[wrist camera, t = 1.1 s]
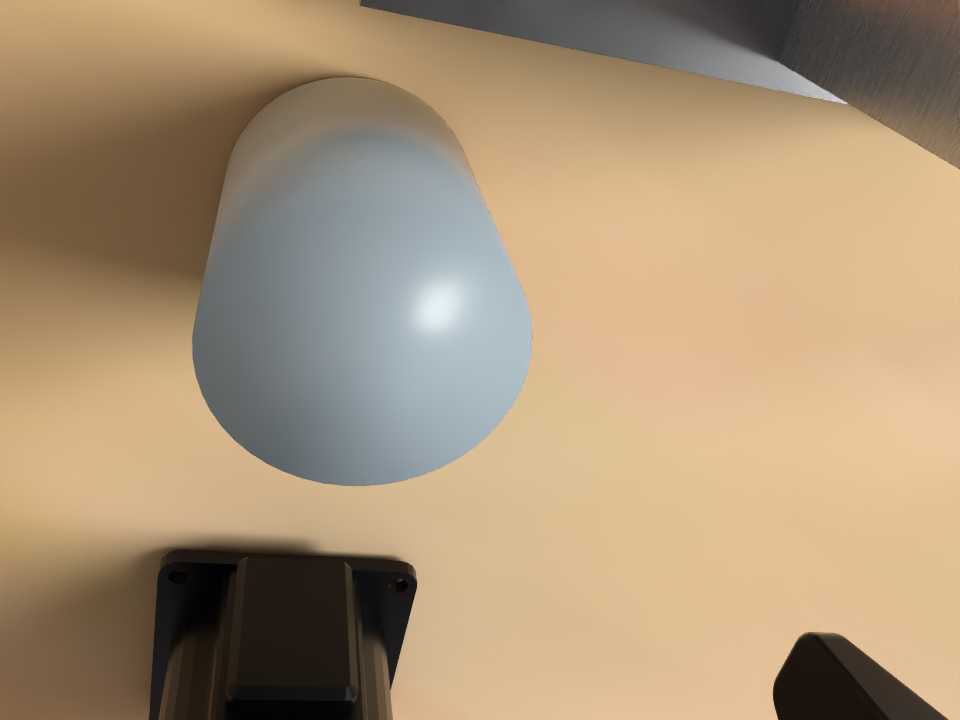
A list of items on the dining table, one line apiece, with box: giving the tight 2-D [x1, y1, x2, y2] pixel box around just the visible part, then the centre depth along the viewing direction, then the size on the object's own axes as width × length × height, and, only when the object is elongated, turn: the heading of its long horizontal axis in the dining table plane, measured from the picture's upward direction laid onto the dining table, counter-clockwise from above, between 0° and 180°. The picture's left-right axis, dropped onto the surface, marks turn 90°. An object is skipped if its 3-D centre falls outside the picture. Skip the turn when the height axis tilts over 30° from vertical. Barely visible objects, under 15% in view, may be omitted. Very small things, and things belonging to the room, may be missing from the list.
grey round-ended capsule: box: [192, 77, 532, 486], centre depth 16 cm, size 5×5×6 cm
